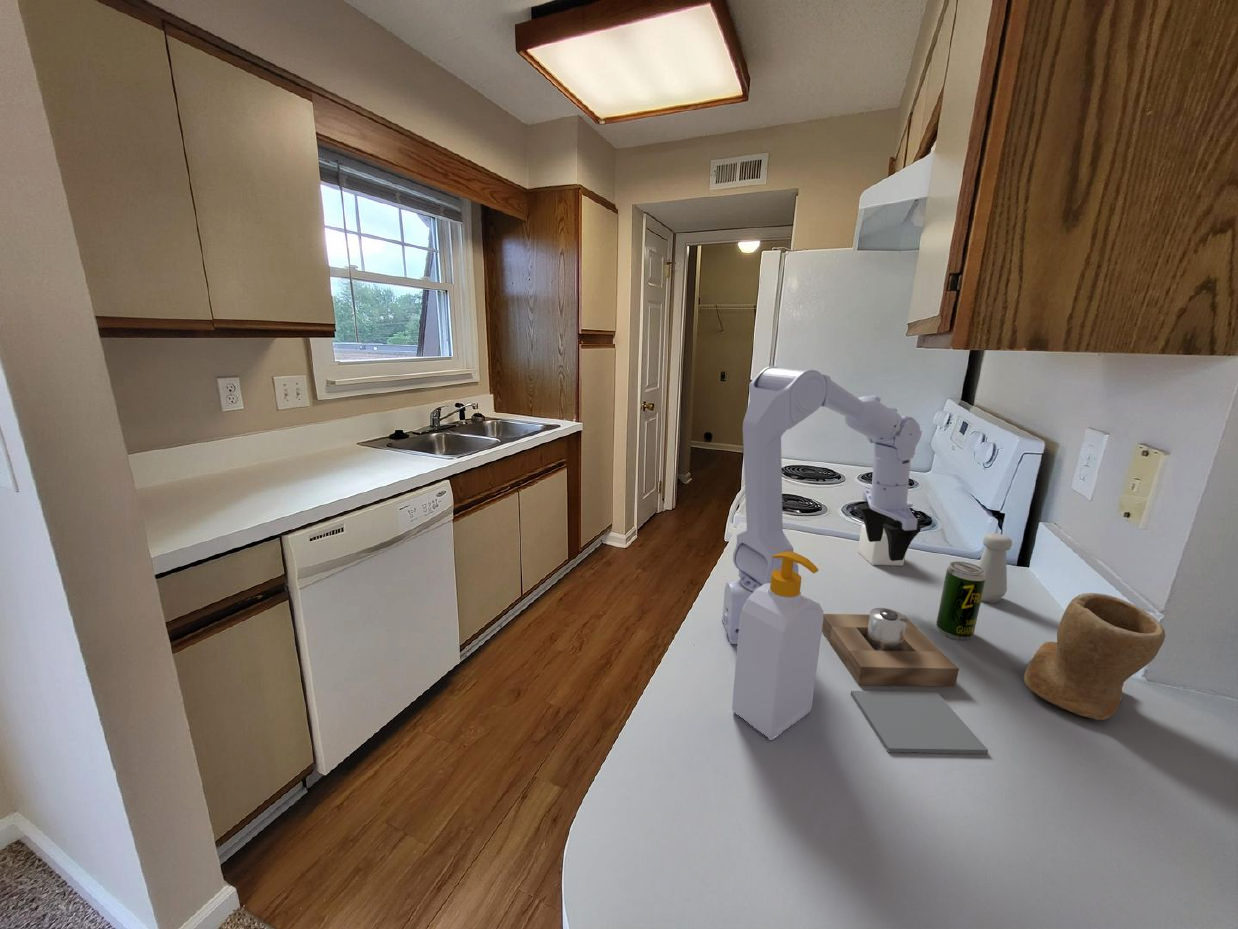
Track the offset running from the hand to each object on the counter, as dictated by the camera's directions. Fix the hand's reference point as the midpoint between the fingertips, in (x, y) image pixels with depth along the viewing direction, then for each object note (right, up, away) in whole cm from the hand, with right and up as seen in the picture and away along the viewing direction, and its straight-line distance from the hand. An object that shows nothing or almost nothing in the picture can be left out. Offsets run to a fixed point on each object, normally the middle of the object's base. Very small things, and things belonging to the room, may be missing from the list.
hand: (884, 549), depth 92 cm
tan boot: (+16, -17, -21) cm, 32 cm away
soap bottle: (-29, -17, -26) cm, 43 cm away
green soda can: (+8, -13, -7) cm, 17 cm away
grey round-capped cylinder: (-8, -14, -14) cm, 21 cm away
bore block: (-8, -14, -14) cm, 21 cm away
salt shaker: (+22, -10, +5) cm, 25 cm away
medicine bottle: (+10, -6, +21) cm, 24 cm away
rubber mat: (-11, -18, -27) cm, 34 cm away
